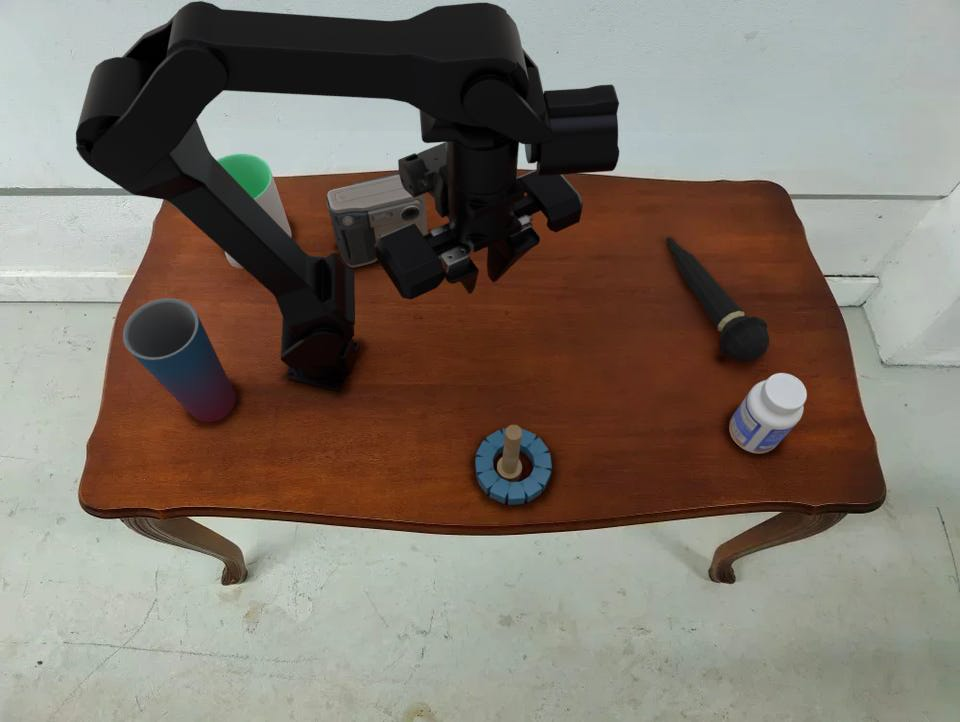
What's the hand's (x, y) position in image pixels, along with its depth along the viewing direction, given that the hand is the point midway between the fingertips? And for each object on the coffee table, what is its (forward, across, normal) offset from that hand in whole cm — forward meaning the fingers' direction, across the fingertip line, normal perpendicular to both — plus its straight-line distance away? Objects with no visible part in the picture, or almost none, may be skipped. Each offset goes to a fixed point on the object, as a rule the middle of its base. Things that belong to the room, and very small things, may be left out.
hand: (480, 284), depth 71 cm
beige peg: (+13, +5, +14) cm, 20 cm away
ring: (+13, +4, +14) cm, 20 cm away
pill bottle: (+13, -20, +24) cm, 34 cm away
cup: (+13, +29, -9) cm, 33 cm away
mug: (+13, +17, -26) cm, 34 cm away
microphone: (+13, -28, +8) cm, 32 cm away
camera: (+13, +3, -19) cm, 23 cm away
